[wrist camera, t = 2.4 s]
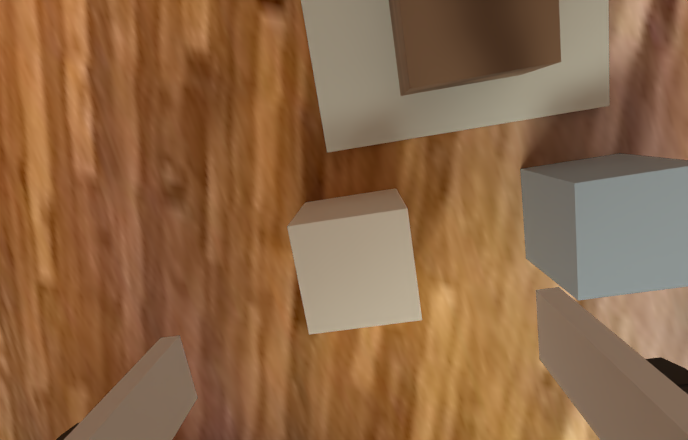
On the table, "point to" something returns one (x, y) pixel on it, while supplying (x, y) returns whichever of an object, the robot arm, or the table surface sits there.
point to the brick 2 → (608, 223)
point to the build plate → (449, 103)
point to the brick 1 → (355, 262)
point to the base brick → (471, 40)
